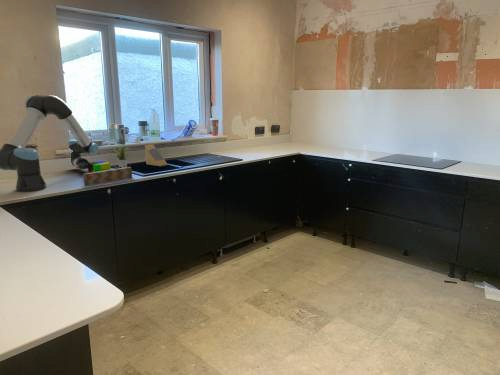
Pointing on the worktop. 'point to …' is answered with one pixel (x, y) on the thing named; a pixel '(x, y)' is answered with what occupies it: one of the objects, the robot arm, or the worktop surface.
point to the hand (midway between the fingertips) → (95, 167)
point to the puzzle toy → (98, 166)
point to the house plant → (122, 158)
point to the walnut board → (107, 176)
